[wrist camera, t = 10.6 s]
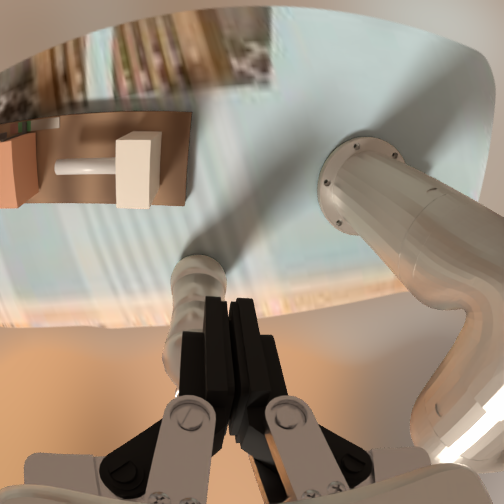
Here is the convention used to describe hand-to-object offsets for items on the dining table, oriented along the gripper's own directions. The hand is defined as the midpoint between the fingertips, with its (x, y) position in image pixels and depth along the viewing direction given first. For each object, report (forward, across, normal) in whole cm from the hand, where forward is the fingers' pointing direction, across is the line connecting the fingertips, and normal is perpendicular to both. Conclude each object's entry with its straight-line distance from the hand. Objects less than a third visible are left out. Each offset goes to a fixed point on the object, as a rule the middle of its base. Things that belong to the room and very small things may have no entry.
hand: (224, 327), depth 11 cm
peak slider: (+22, +22, -1) cm, 31 cm away
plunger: (+22, +11, -1) cm, 25 cm away
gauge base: (+24, +16, -1) cm, 29 cm away
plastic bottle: (+24, +1, +13) cm, 27 cm away
